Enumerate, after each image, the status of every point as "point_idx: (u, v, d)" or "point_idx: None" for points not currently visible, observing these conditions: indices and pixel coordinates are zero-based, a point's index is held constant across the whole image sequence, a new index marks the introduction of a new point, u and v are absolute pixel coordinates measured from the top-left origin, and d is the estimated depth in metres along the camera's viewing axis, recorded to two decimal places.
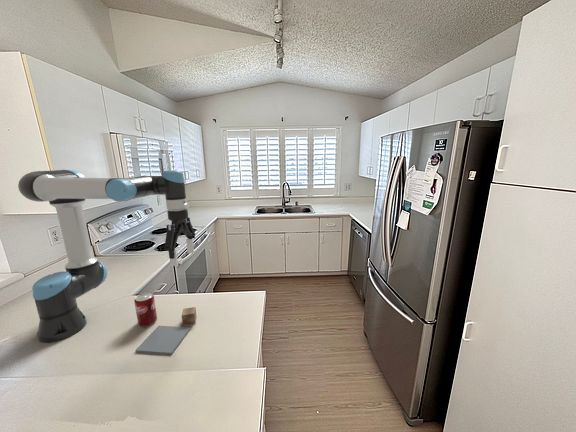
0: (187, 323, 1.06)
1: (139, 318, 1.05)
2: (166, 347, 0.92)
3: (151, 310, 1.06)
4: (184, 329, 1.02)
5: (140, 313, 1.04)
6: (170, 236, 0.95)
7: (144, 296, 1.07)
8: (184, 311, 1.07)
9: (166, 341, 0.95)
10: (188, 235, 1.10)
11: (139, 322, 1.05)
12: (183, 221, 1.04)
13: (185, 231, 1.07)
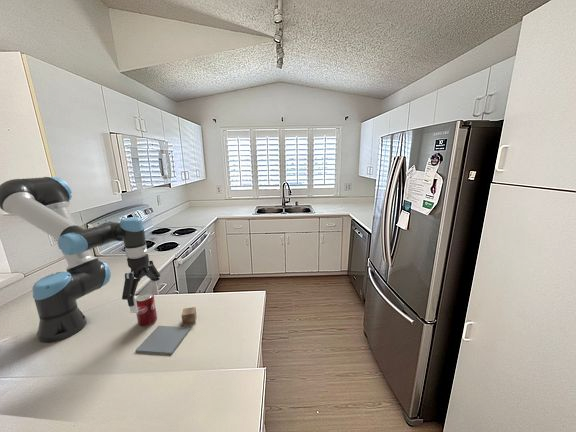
0: (187, 323, 1.06)
1: (139, 318, 1.05)
2: (166, 347, 0.92)
3: (151, 310, 1.06)
4: (184, 329, 1.02)
5: (140, 313, 1.04)
6: (128, 285, 0.96)
7: (144, 296, 1.07)
8: (184, 311, 1.07)
9: (166, 341, 0.95)
10: (152, 278, 1.11)
11: (139, 322, 1.05)
12: (144, 266, 1.05)
13: (148, 275, 1.08)
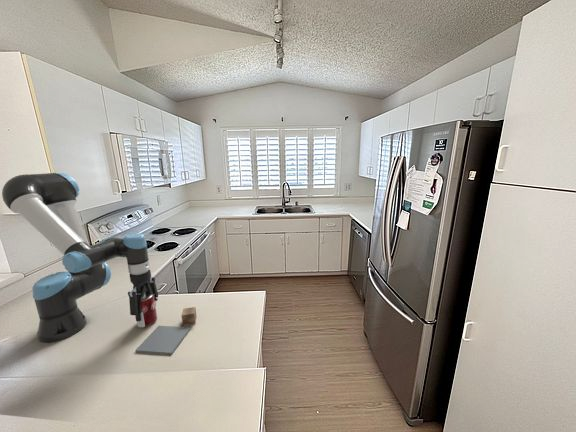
0: (187, 323, 1.06)
1: None
2: (166, 347, 0.92)
3: (151, 310, 1.06)
4: (184, 329, 1.02)
5: None
6: (133, 303, 0.99)
7: (144, 295, 1.07)
8: (184, 311, 1.07)
9: (166, 341, 0.95)
10: None
11: None
12: (146, 280, 1.06)
13: (148, 292, 1.08)
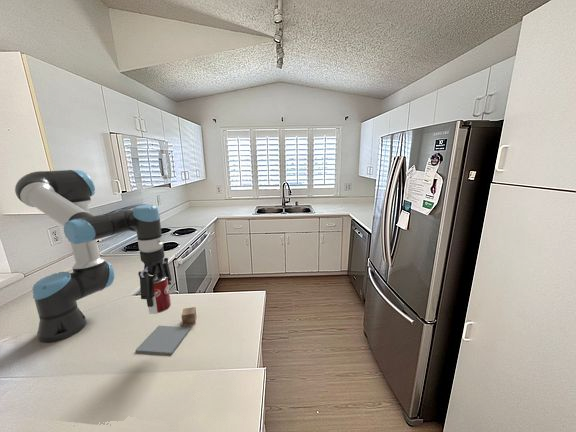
0: (187, 323, 1.06)
1: None
2: (166, 347, 0.92)
3: (164, 294, 0.92)
4: (184, 329, 1.02)
5: None
6: (145, 284, 0.85)
7: (156, 278, 0.93)
8: (184, 311, 1.07)
9: (166, 341, 0.95)
10: None
11: None
12: None
13: (160, 274, 0.94)
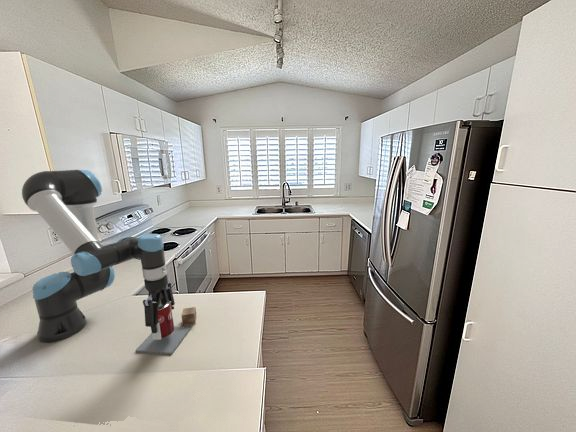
0: (187, 323, 1.06)
1: None
2: (166, 347, 0.92)
3: (168, 320, 0.94)
4: (184, 329, 1.02)
5: None
6: (149, 312, 0.87)
7: (160, 304, 0.95)
8: (184, 311, 1.07)
9: (166, 341, 0.95)
10: None
11: None
12: None
13: (164, 300, 0.96)
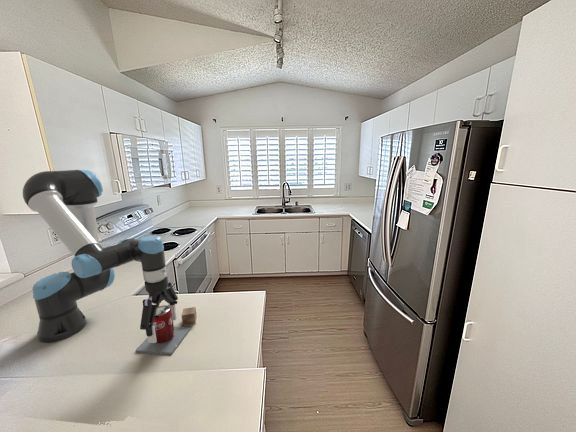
0: (187, 323, 1.06)
1: None
2: (166, 347, 0.92)
3: (169, 325, 0.94)
4: (184, 329, 1.02)
5: (156, 329, 0.93)
6: (147, 313, 0.86)
7: (161, 309, 0.96)
8: (184, 311, 1.07)
9: None
10: (169, 301, 1.00)
11: None
12: (163, 289, 0.94)
13: (166, 298, 0.98)
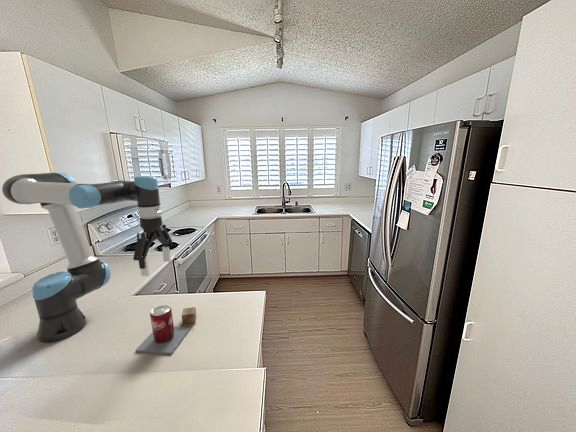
0: (187, 323, 1.06)
1: (155, 334, 0.93)
2: (166, 347, 0.92)
3: (169, 325, 0.94)
4: (184, 329, 1.02)
5: (156, 329, 0.92)
6: (140, 245, 0.91)
7: (161, 309, 0.95)
8: (184, 311, 1.07)
9: None
10: (164, 243, 1.05)
11: (155, 339, 0.94)
12: (157, 229, 1.00)
13: (160, 239, 1.03)
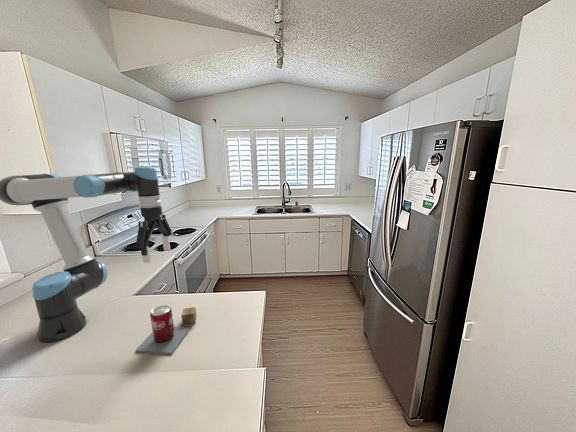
0: (187, 323, 1.06)
1: (155, 334, 0.93)
2: (166, 347, 0.92)
3: (169, 325, 0.94)
4: (184, 329, 1.02)
5: (156, 329, 0.93)
6: (142, 233, 0.95)
7: (161, 309, 0.95)
8: (184, 311, 1.07)
9: None
10: (164, 232, 1.10)
11: (155, 339, 0.94)
12: (157, 218, 1.04)
13: (160, 228, 1.07)
